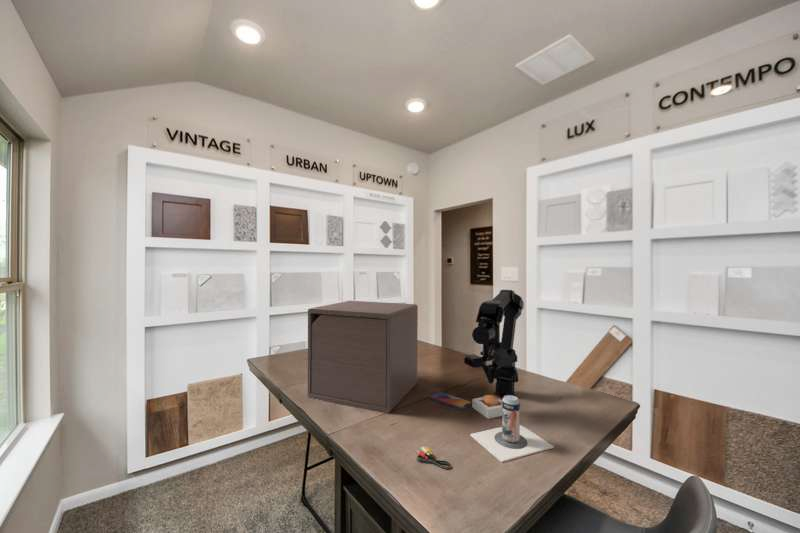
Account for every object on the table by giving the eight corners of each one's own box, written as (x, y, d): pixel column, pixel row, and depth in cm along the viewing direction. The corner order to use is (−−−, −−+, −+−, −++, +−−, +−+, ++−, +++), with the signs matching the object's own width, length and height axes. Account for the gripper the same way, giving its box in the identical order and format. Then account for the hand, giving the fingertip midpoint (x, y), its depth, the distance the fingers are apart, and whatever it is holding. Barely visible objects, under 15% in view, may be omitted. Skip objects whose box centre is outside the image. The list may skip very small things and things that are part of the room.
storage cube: (307, 397, 121) (307, 307, 121) (347, 373, 148) (347, 300, 148) (389, 414, 108) (390, 313, 108) (417, 384, 135) (417, 304, 135)
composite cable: (453, 468, 80) (453, 458, 80) (441, 476, 77) (441, 466, 77) (423, 451, 87) (423, 442, 87) (411, 459, 84) (411, 449, 84)
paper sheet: (517, 424, 102) (517, 422, 102) (553, 447, 89) (553, 445, 89) (470, 435, 95) (470, 433, 95) (501, 462, 82) (501, 460, 82)
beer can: (498, 437, 93) (498, 396, 93) (509, 433, 95) (509, 393, 95) (512, 445, 89) (512, 402, 89) (523, 440, 91) (523, 398, 91)
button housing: (492, 403, 117) (492, 395, 117) (509, 414, 109) (509, 405, 109) (472, 407, 114) (472, 399, 114) (488, 418, 105) (488, 409, 105)
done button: (492, 399, 114) (492, 394, 114) (501, 405, 110) (501, 399, 110) (480, 401, 112) (480, 396, 112) (489, 407, 108) (489, 401, 108)
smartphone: (439, 393, 127) (439, 391, 127) (473, 404, 117) (473, 401, 117) (428, 399, 122) (428, 396, 122) (462, 411, 111) (461, 408, 111)
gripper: (483, 346, 100) (482, 396, 100) (529, 341, 107) (528, 387, 107) (463, 338, 110) (463, 383, 110) (506, 334, 117) (506, 376, 117)
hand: (490, 383), depth 111 cm, fingers closed
